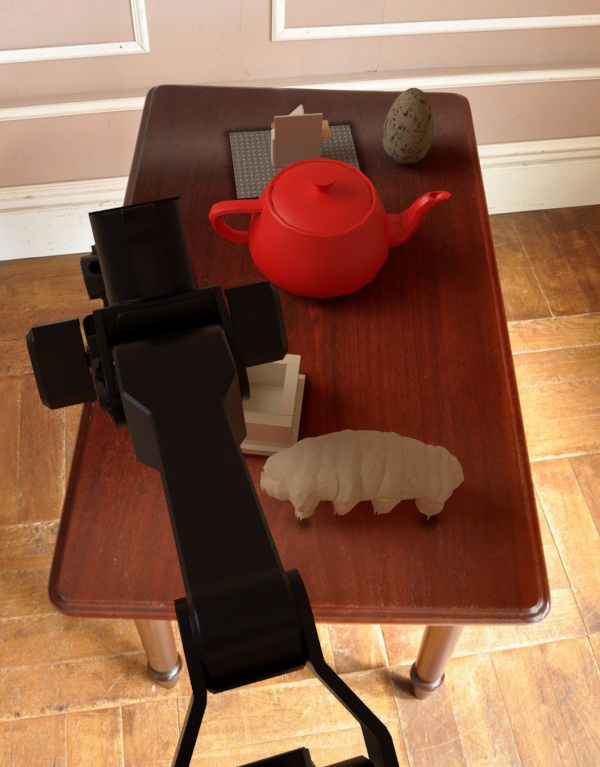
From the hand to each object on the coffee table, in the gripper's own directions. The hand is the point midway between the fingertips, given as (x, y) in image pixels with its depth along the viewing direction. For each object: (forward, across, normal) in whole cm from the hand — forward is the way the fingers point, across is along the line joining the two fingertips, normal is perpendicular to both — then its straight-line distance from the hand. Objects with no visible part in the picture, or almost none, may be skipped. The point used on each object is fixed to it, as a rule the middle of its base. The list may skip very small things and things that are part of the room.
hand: (155, 329), depth 72 cm
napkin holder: (+32, -21, -12) cm, 40 cm away
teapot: (+20, -20, -1) cm, 29 cm away
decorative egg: (+30, -34, -10) cm, 46 cm away
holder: (+8, -8, +11) cm, 16 cm away
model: (0, -15, +19) cm, 24 cm away
